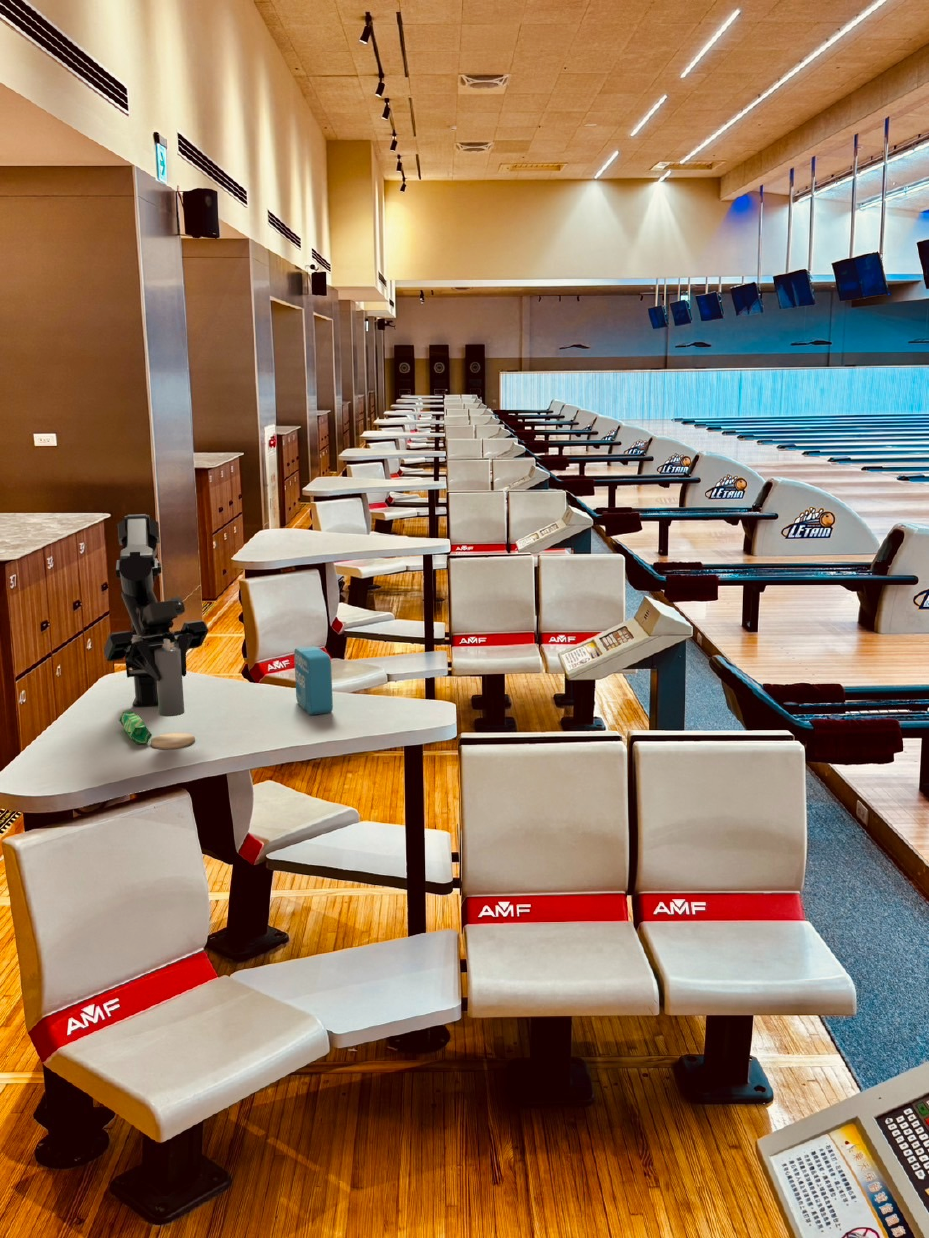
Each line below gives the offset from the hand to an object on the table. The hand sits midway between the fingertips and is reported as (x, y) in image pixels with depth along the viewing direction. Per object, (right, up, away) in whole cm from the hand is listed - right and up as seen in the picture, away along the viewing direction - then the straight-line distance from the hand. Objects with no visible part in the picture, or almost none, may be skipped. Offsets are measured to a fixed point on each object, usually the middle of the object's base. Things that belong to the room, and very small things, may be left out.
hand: (172, 677), depth 208 cm
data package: (+23, -8, +25) cm, 35 cm away
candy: (-9, -12, +8) cm, 17 cm away
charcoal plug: (-1, -7, +3) cm, 7 cm away
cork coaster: (-1, -12, +4) cm, 13 cm away
